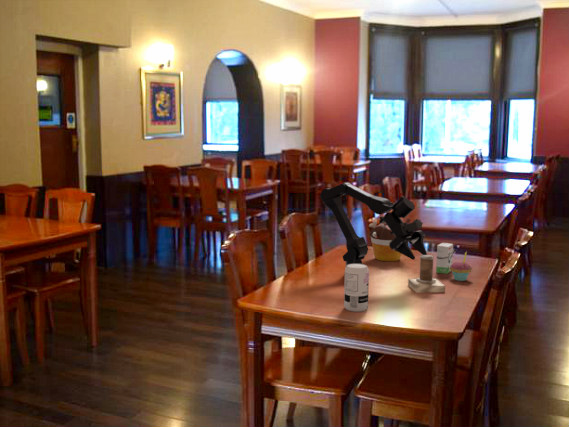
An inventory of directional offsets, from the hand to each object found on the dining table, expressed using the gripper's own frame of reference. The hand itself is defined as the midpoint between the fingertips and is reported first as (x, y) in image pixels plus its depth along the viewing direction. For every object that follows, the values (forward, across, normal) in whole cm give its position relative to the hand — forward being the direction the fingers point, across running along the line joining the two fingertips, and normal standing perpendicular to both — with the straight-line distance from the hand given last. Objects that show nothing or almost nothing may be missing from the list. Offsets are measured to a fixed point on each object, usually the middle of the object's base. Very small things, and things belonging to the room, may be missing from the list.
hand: (420, 257), depth 245 cm
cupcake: (+13, +22, +4) cm, 26 cm away
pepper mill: (+8, 0, +5) cm, 10 cm away
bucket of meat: (-16, +35, +34) cm, 51 cm away
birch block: (+11, 0, +6) cm, 13 cm away
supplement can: (+7, -40, +10) cm, 42 cm away
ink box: (+5, +30, +12) cm, 33 cm away
